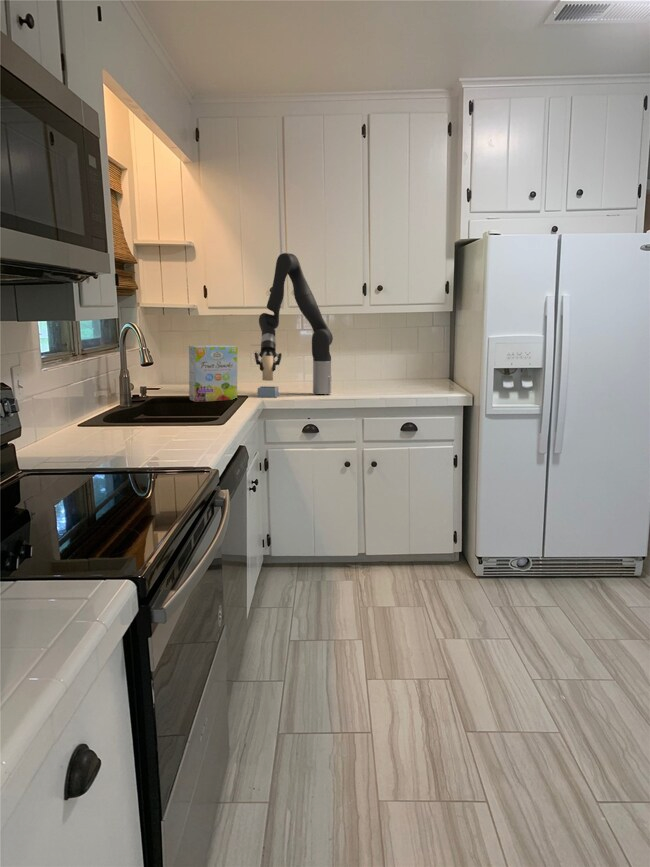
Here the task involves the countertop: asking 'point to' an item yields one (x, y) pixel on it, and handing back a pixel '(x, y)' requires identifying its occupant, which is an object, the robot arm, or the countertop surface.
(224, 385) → the snack box
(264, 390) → the roll holder
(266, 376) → the paper roll
